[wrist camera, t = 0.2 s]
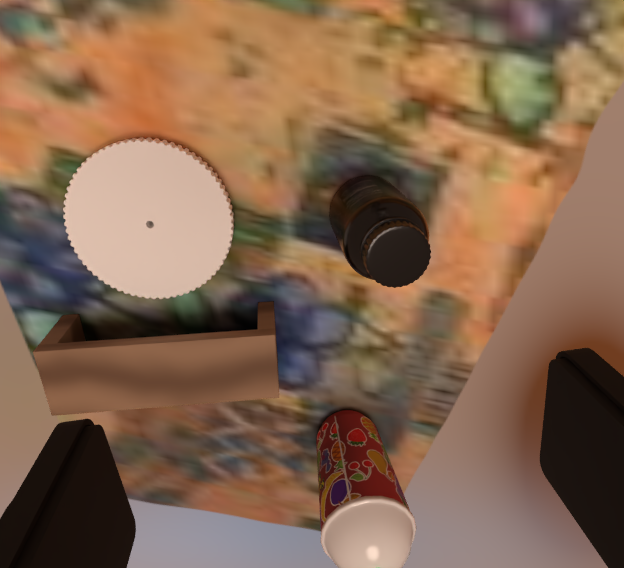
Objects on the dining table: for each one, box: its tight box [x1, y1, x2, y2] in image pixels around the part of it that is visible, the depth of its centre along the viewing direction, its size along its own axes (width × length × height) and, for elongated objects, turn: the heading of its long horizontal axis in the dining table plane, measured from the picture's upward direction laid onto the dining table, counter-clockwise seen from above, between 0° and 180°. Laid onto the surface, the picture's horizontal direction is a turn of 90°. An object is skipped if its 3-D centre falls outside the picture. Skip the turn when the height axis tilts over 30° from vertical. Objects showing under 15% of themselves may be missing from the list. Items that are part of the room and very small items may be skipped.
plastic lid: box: [63, 137, 234, 299], centre depth 44 cm, size 14×14×2 cm
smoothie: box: [316, 410, 416, 568], centre depth 47 cm, size 8×8×20 cm
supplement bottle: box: [330, 176, 431, 288], centre depth 40 cm, size 7×7×12 cm
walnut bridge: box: [33, 301, 279, 415], centre depth 46 cm, size 6×20×7 cm, turn 92°
